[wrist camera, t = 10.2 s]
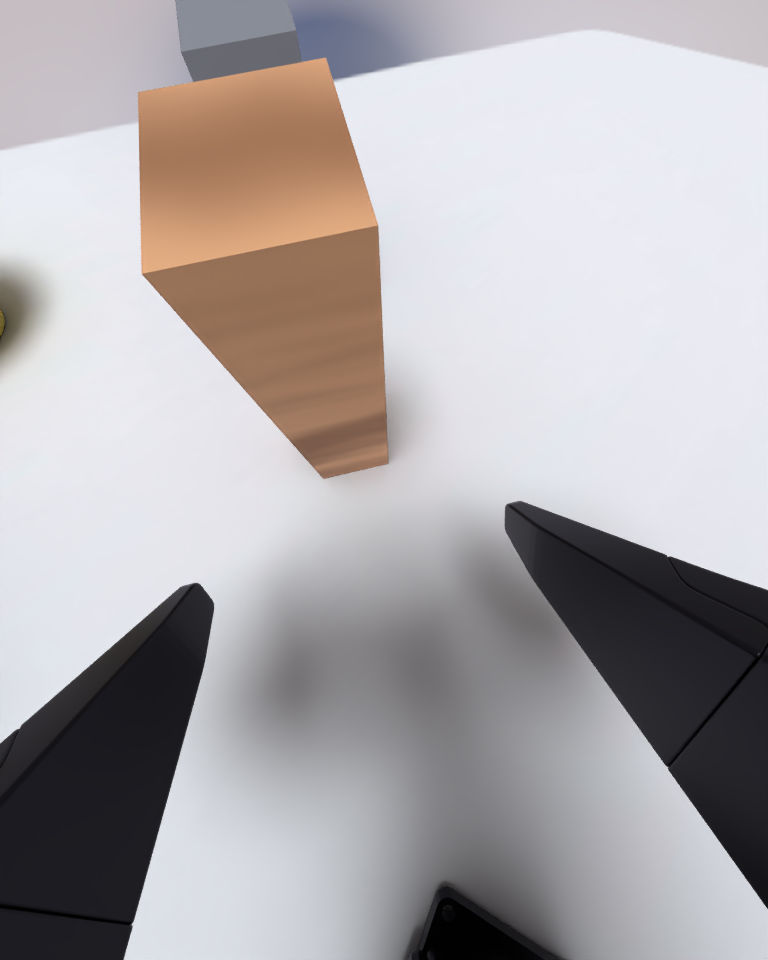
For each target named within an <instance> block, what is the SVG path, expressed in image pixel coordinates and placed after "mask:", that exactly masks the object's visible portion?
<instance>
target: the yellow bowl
mask: <svg viewBox="0 0 768 960" xmlns="http://www.w3.org/2000/svg"><path fill="white" fill-rule="evenodd" d="M4 325H5V320H4V316H3V313H2V312H1V310H0V337H1V335H2V333H3V330H4Z"/></svg>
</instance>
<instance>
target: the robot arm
mask: <svg viewBox="0 0 768 960" xmlns="http://www.w3.org/2000/svg"><path fill="white" fill-rule="evenodd" d="M505 530H506V533H507V535H508V537H509V538H510V540H511V542H512V544H513V546H514V547H515V549H516V551H517V553H518V554H519V556H520V558H521V560H522V562H523V563H524V565H525V567H526V569H527V570H528V572H529V574H530V575H531V577H532V579H533V580H534V582H535V583H536V585H537V586H538V588H539V589H540V590H541V592H542V593H543V595H544V596H545V597H546V599H547V600H548V602H549V603H550V604H551V606H552V607H553V609H554V610H555V611H556V613H557V614H558V616H559V617H560V618H561V620H562V621H563V623H564V624H565V625H566V627H567V628H568V630H569V631H570V632H571V634H572V635H573V637H574V638H575V639H576V641H577V642H578V644H579V645H580V646H581V648H582V649H583V651H584V652H585V653H586V655H587V656H588V658H589V659H590V660H591V662H592V663H593V665H594V666H595V667H596V669H597V670H598V672H599V673H600V674H601V676H602V677H603V679H604V680H605V681H606V683H607V684H608V686H609V687H610V688H611V690H612V691H613V693H614V694H615V695H616V697H617V698H618V700H619V701H620V702H621V704H622V705H623V707H624V708H625V709H626V711H627V712H628V714H629V715H630V716H631V718H632V719H633V721H634V722H635V723H636V725H637V726H638V728H639V729H640V730H641V732H642V733H643V735H644V736H645V737H646V739H647V740H648V742H649V743H650V744H651V746H652V747H653V749H654V750H655V751H656V753H657V754H658V756H659V757H660V758H661V760H662V761H663V763H664V764H665V765H666V766H667V767H668V770H669V771H670V773H671V774H672V776H673V777H674V778H675V780H676V781H677V783H678V784H679V785H680V787H681V788H682V790H683V791H684V792H685V794H686V795H687V797H688V798H689V799H690V801H691V802H692V804H693V805H694V806H695V808H696V809H697V811H698V812H699V814H700V815H701V816H702V818H703V819H704V821H705V822H706V823H707V825H708V826H709V828H710V829H711V830H712V832H713V833H714V835H715V836H716V837H717V839H718V840H719V842H720V843H721V844H722V846H723V847H724V849H725V850H726V851H727V853H728V854H729V856H730V857H731V858H732V860H733V861H734V863H735V864H736V865H737V867H738V868H739V870H740V871H741V872H742V874H743V875H744V877H745V878H746V879H747V881H748V882H749V884H750V885H751V886H752V888H753V889H754V891H755V892H756V893H757V895H758V896H759V898H760V899H761V900H762V902H763V903H764V905H765V906H766V907H767V909H768V590H766V589H763V588H760V587H757V586H754V585H751V584H748V583H745V582H742V581H739V580H736V579H733V578H730V577H726V576H724V575H721V574H718V573H715V572H712V571H710V570H707V569H704V568H701V567H698V566H695V565H693V564H690V563H687V562H685V561H682V560H679V559H676V558H674V557H671V556H669V557H667V555H665V554H663V553H660V552H657V551H655V550H652V549H649V548H646V547H644V546H641V545H638V544H636V543H633V542H630V541H628V540H625V539H622V538H619V537H617V536H614V535H611V534H609V533H606V532H603V531H600V530H598V529H595V528H592V527H590V526H587V525H584V524H582V523H579V522H576V521H573V520H571V519H568V518H565V517H563V516H560V515H557V514H555V513H552V512H549V511H546V510H544V509H541V508H538V507H536V506H533V505H530V504H528V503H525V502H522V501H517V502H513V503H509V504H507V505H506V507H505ZM213 613H214V603H213V601H212V599H211V598H210V596H209V595H208V594H207V592H206V591H205V590H204V588H203V587H202V586H201V585H200V584H198V583H192V584H188V585H185V586H182V587H180V588H179V589H178V590H176V591H175V592H174V593H173V594H172V595H171V596H170V597H168V598H167V599H166V600H165V601H164V602H163V603H162V604H160V605H159V606H158V607H157V608H156V609H155V610H153V611H152V612H151V613H150V614H149V615H148V616H147V617H145V618H144V619H143V620H142V621H141V622H140V623H139V624H137V625H136V626H135V627H134V628H133V629H132V630H130V631H129V632H128V633H127V634H126V635H125V636H124V637H122V638H121V639H120V640H119V641H118V642H117V643H116V644H114V645H113V646H112V647H111V648H110V649H109V650H107V651H106V652H105V653H104V654H103V655H102V656H101V657H99V658H98V659H97V660H96V661H95V662H94V663H93V664H91V665H90V666H89V667H88V668H87V669H86V670H84V671H83V672H82V673H81V674H80V675H79V676H78V677H76V678H75V679H74V680H73V681H72V682H71V683H70V684H68V685H67V686H66V687H65V688H64V689H63V690H61V691H60V692H59V693H58V694H57V695H56V696H55V697H53V698H52V699H51V700H50V701H49V702H48V703H47V704H45V705H44V706H43V707H42V708H41V709H40V710H38V711H37V712H36V713H35V714H34V715H33V716H32V717H30V718H29V719H28V720H27V721H26V722H25V723H24V724H22V725H21V727H20V729H17V730H15V731H14V732H13V733H12V734H11V735H10V736H8V737H7V738H6V739H5V740H4V741H3V742H2V743H0V960H124V956H125V952H126V949H127V945H128V941H129V938H130V934H131V931H132V923H133V922H134V919H135V915H136V911H137V908H138V904H139V901H140V897H141V893H142V890H143V886H144V882H145V879H146V875H147V871H148V868H149V864H150V861H151V857H152V853H153V850H154V846H155V842H156V839H157V835H158V832H159V828H160V824H161V821H162V817H163V813H164V810H165V806H166V803H167V799H168V795H169V792H170V788H171V784H172V781H173V777H174V774H175V770H176V766H177V763H178V759H179V755H180V752H181V748H182V744H183V741H184V737H185V734H186V730H187V726H188V723H189V719H190V715H191V712H192V708H193V705H194V701H195V697H196V694H197V690H198V686H199V683H200V679H201V676H202V672H203V668H204V663H205V658H206V653H207V647H208V642H209V636H210V630H211V624H212V618H213ZM446 905H450V906H451V907H452V908H451V909H450V910H444V909H443V908H444V906H446ZM408 960H559V959H558V958H556V957H555V956H553V955H552V954H550V953H549V952H547V951H546V950H544V949H543V948H541V947H540V946H538V945H537V944H535V943H534V942H532V941H531V940H529V939H528V938H526V937H525V936H523V935H522V934H520V933H518V932H517V931H515V930H514V929H512V928H511V927H509V926H508V925H506V924H505V923H503V922H502V921H500V920H499V919H497V918H496V917H494V916H493V915H491V914H490V913H488V912H487V911H485V910H484V909H482V908H481V907H479V906H478V905H476V904H475V903H473V902H471V901H470V900H468V899H467V898H465V897H464V896H462V895H461V894H459V893H458V892H456V891H455V890H453V889H452V888H449V887H442V888H441V889H439V890H438V892H437V894H436V896H435V899H434V902H433V904H432V907H431V910H430V913H429V916H428V919H427V922H426V925H425V928H424V931H423V934H422V937H421V940H420V943H419V946H418V948H415V949H414V950H413V951H412V952H411V954H410V956H409V959H408Z"/></svg>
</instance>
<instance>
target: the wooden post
mask: <svg viewBox="0 0 768 960" xmlns="http://www.w3.org/2000/svg"><path fill="white" fill-rule="evenodd" d="M138 108H139V109H138V110H139V161H140V213H141V264H142V275H143V276H144V277H145V278H146V279H147V280H148V281H149V283H150V284H151V285H152V286H153V287H154V288H155V289H156V290H157V292H158V293H159V294H160V295H161V296H162V297H163V298H164V299H165V301H166V302H167V303H168V304H169V305H170V306H171V307H172V308H173V310H174V311H175V312H176V313H177V314H178V315H179V316H180V317H181V319H182V320H183V321H184V322H185V323H186V324H187V325H188V327H189V328H190V329H191V330H192V331H193V332H194V333H195V334H196V336H197V337H198V338H199V339H200V340H201V341H202V342H203V343H204V345H205V346H206V347H207V348H208V349H209V350H210V351H211V352H212V354H213V355H214V356H215V357H216V358H217V359H218V360H219V361H220V363H221V364H222V365H223V366H224V367H225V368H226V369H227V371H228V372H229V373H230V374H231V375H232V376H233V377H234V378H235V380H236V381H237V382H238V383H239V384H240V385H241V386H242V387H243V389H244V390H245V391H246V392H247V393H248V394H249V395H250V396H251V398H252V399H253V400H254V401H255V402H256V403H257V404H258V405H259V407H260V408H261V409H262V410H263V411H264V412H265V413H266V415H267V416H268V417H269V418H270V419H271V420H272V421H273V422H274V424H275V425H276V426H277V427H278V428H279V429H280V430H281V431H282V433H283V434H284V435H285V436H286V437H287V438H288V439H289V440H290V442H291V443H292V444H293V445H294V446H295V447H296V448H297V449H298V451H299V452H300V453H301V454H302V455H303V456H304V457H305V459H306V460H307V461H308V462H309V463H310V464H311V465H312V466H313V468H314V469H315V470H316V471H317V472H318V473H319V474H320V475H321V477H322V478H323V479H324V478H328V477H333V476H337V475H341V474H346V473H350V472H354V471H359V470H363V469H367V468H372V467H376V466H380V465H384V464H388V445H387V422H386V398H385V375H384V351H383V328H382V304H381V281H380V257H379V234H378V223H377V220H376V217H375V214H374V211H373V207H372V204H371V201H370V198H369V194H368V191H367V188H366V185H365V182H364V178H363V175H362V172H361V169H360V166H359V162H358V159H357V156H356V153H355V150H354V146H353V143H352V140H351V137H350V134H349V130H348V127H347V124H346V121H345V118H344V114H343V111H342V108H341V105H340V102H339V98H338V95H337V92H336V89H335V86H334V82H333V79H332V76H331V73H330V70H329V66H328V63H327V60H326V58H322V59H316V60H311V61H306V62H300V63H295V64H289V65H284V66H278V67H273V68H267V69H262V70H256V71H251V72H246V73H240V74H235V75H229V76H224V77H218V78H213V79H208V80H202V81H197V82H191V83H186V84H181V85H175V86H170V87H164V88H159V89H153V90H148V91H142V92H138Z"/></svg>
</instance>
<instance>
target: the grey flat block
mask: <svg viewBox="0 0 768 960" xmlns="http://www.w3.org/2000/svg"><path fill="white" fill-rule="evenodd" d="M175 1H176V11H177V19H178V29H179V38H180V47H181V53H182V56H183V58H184V60H185V63H186V65H187V67H188V70H189V72H190V75H191V77H192V79H193V82H197V81H202V80H208V79H213V78H218V77H224V76H229V75H235V74H240V73H246V72H251V71H256V70H262V69H267V68H273V67H278V66H284V65H289V64H295V63H300V62H302V60H301V54H300V49H299V43H298V38H297V32H296V28H295V25H294V22H293V18H292V15H291V11H290V8H289V5H288V2H287V0H175Z"/></svg>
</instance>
